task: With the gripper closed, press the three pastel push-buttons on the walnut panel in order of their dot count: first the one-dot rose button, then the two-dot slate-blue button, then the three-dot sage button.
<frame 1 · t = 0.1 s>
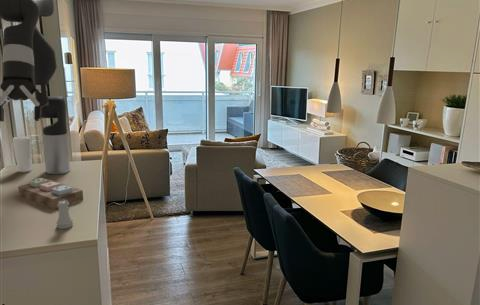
hand: (19, 120, 96), 31 cm above the table, tool tilted 20°, fingers open, 8 cm apart
button panel: (51, 197, 125), on the table
three-pip button: (38, 183, 127), point 4 cm above the table, slide at 0.0 cm
one-pip button: (50, 187, 124), point 4 cm above the table, slide at 0.0 cm
two-pip button: (61, 191, 121), point 4 cm above the table, slide at 0.0 cm
rook chess piece: (65, 226, 104), on the table
drinking glass: (25, 171, 154), on the table
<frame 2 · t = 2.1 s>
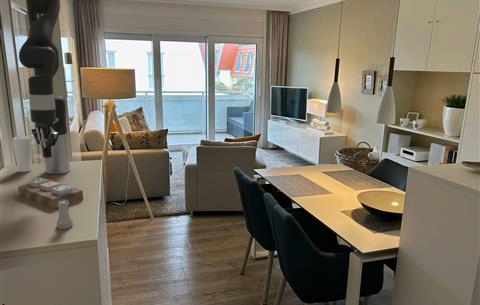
hand: (47, 157, 121), 15 cm above the table, tool pointing down, fingers closed
nothing on the table moved.
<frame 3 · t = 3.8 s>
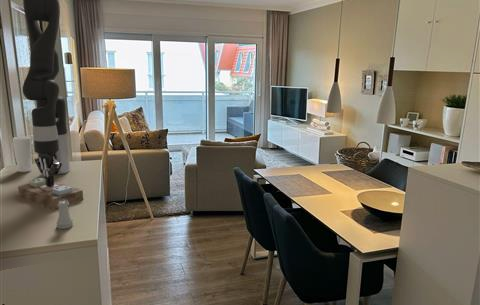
hand: (50, 185, 124), 4 cm above the table, tool pointing down, fingers closed
one-pip button: (50, 189, 124), point 3 cm above the table, slide at 0.7 cm, touching gripper
everything else where it was.
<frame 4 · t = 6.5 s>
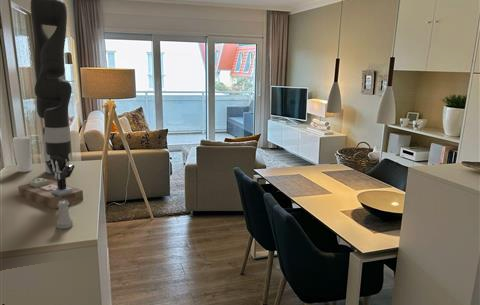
hand: (61, 188, 120), 5 cm above the table, tool pointing down, fingers closed
one-pip button: (50, 189, 124), point 3 cm above the table, slide at 1.1 cm
two-pip button: (62, 192, 121), point 4 cm above the table, slide at 0.3 cm, touching gripper
everything else where it was.
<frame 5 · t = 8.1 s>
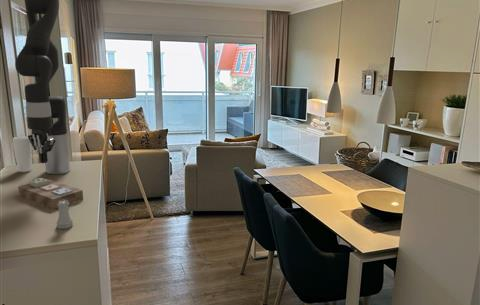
hand: (43, 162, 125), 12 cm above the table, tool pointing down, fingers closed
two-pip button: (62, 194, 121), point 3 cm above the table, slide at 1.1 cm
everything else where it was.
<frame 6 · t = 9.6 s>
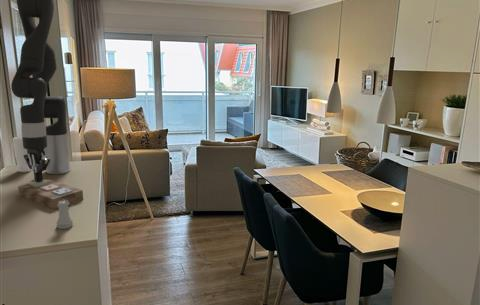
hand: (38, 181, 127), 5 cm above the table, tool pointing down, fingers closed
three-pip button: (38, 184, 128), point 4 cm above the table, slide at 0.4 cm, touching gripper
everything else where it was.
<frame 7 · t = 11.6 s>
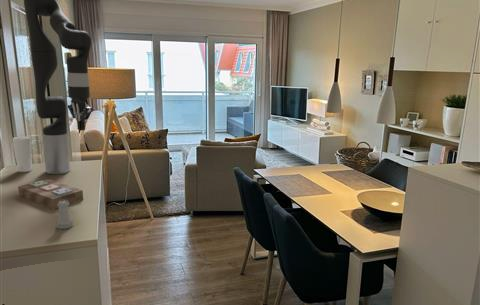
hand: (81, 129, 136), 22 cm above the table, tool pointing down, fingers closed
three-pip button: (39, 186, 128), point 3 cm above the table, slide at 1.1 cm
everything else where it was.
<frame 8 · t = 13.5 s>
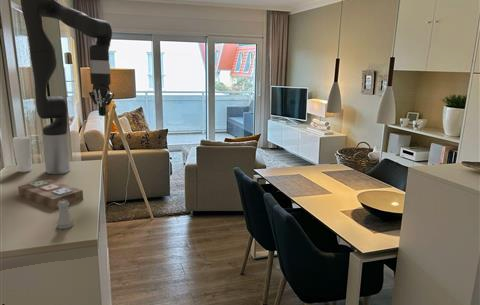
hand: (102, 115, 142), 27 cm above the table, tool pointing down, fingers closed
nothing on the table moved.
at the end: one-pip button slide at 1.1 cm; two-pip button slide at 1.1 cm; three-pip button slide at 1.1 cm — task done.
